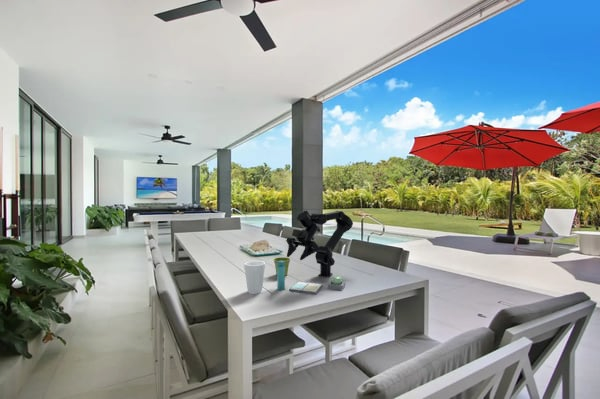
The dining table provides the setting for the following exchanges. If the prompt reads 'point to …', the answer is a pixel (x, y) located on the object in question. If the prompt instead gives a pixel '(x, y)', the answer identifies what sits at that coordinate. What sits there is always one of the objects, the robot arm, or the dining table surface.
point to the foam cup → (254, 276)
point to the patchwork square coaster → (306, 287)
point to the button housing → (336, 285)
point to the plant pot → (285, 263)
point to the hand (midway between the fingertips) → (293, 258)
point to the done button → (336, 280)
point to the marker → (280, 275)
